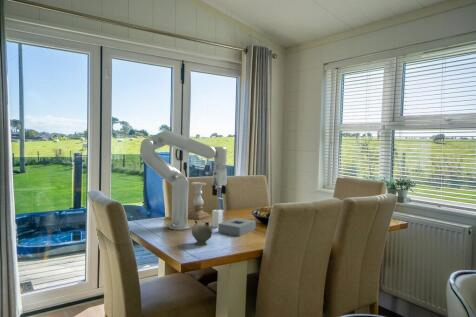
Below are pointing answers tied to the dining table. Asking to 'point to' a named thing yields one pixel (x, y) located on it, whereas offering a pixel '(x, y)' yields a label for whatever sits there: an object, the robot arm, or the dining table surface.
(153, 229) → the dining table surface
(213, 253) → the dining table surface
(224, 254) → the dining table surface
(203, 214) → the candle holder
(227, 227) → the grey flat block
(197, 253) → the dining table surface
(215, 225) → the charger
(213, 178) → the robot arm
